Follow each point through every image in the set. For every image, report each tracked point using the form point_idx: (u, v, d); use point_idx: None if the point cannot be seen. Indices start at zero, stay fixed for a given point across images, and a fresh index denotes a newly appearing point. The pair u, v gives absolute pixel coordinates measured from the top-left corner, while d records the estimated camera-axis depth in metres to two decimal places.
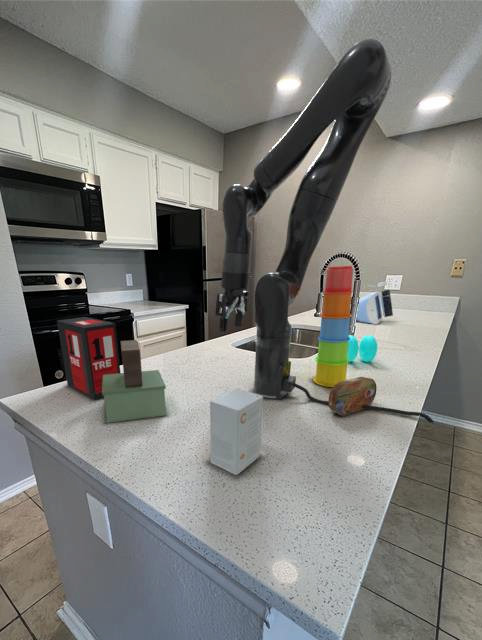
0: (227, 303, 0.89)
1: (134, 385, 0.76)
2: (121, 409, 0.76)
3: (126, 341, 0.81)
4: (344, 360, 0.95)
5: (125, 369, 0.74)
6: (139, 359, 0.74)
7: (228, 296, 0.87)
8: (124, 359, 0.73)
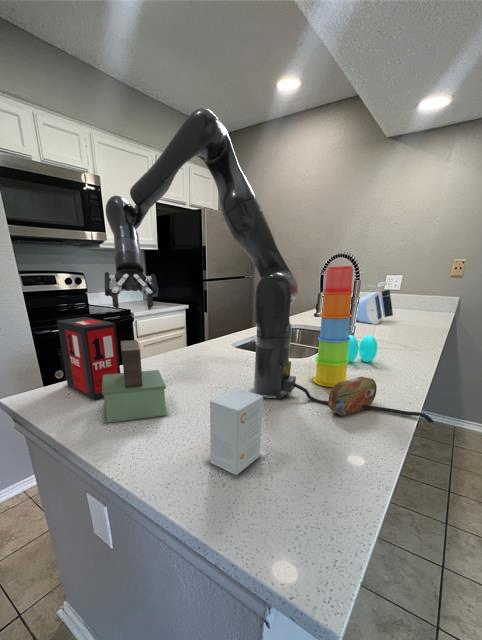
0: None
1: (134, 385, 0.76)
2: (121, 409, 0.76)
3: (126, 341, 0.81)
4: (344, 360, 0.95)
5: (125, 369, 0.74)
6: (139, 359, 0.74)
7: (115, 275, 0.87)
8: (124, 359, 0.73)
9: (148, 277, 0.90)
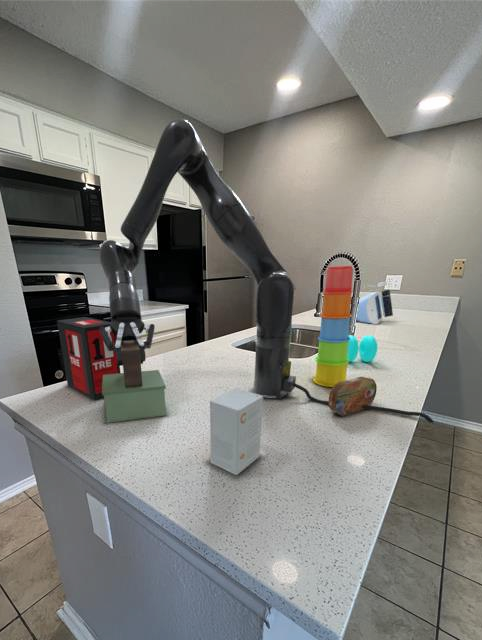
0: (116, 334, 0.80)
1: (134, 385, 0.76)
2: (121, 409, 0.76)
3: (126, 341, 0.81)
4: (344, 360, 0.95)
5: (125, 369, 0.74)
6: (139, 359, 0.74)
7: (110, 326, 0.79)
8: (124, 359, 0.73)
9: (146, 326, 0.82)
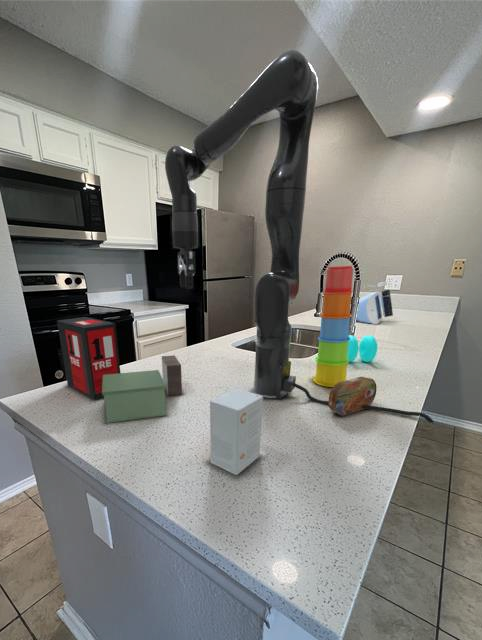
0: None
1: (175, 394, 0.92)
2: (121, 409, 0.76)
3: (166, 356, 0.97)
4: (344, 360, 0.95)
5: (169, 381, 0.90)
6: (180, 372, 0.90)
7: None
8: (168, 372, 0.89)
9: None
